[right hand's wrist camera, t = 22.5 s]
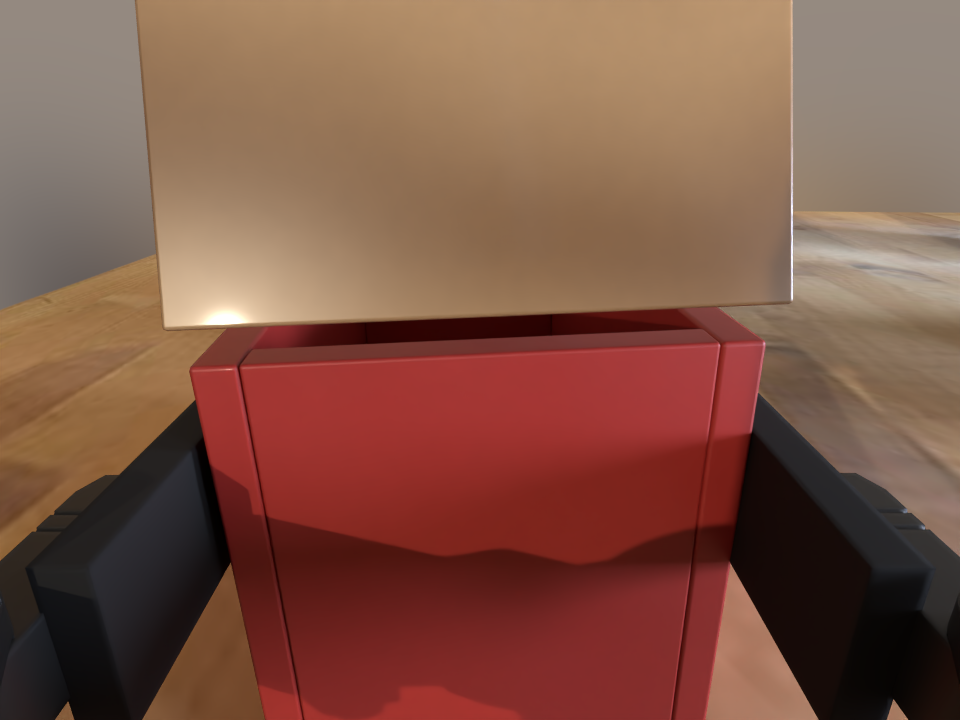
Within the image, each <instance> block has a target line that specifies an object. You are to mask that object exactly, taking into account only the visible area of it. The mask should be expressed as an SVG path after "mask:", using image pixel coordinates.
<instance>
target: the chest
mask: <svg viewBox="0 0 960 720" xmlns="http://www.w3.org/2000/svg"><path fill="white" fill-rule="evenodd" d="M765 346H766V345H765V341H764V340H763V339H761V338H760V337H759V336H757V335H756V334H754V333H753V332H751V331H750V330H749V329H747V328H746V327H744V326H743V325H741V324H740V323H739V322H737V321H736V320H734V319H733V318H731V317H730V316H729V315H727V314H726V313H724V312H723V311H722V310H720V309H719V308H717V307H706V308H683V309H660V310H637V311H614V312H591V313H568V314H545V315H523V316H500V317H477V318H454V319H431V320H408V321H385V322H362V323H339V324H316V325H293V326H270V327H247V328H227V329H226V330H225V331H224V332H223V333H222V334H221V335H220V336H219V337H218V338H217V340H216V341H215V342H214V343H213V344H212V345H211V346H210V347H209V348H208V349H207V350H206V351H205V352H204V353H203V354H202V355H201V357H200V358H199V359H198V360H197V361H196V362H195V363H194V364H193V365H192V366H191V367H190V371H189V372H190V377H191V381H192V386H193V390H194V395H195V400H196V404H197V409H198V413H199V418H200V423H201V427H202V432H203V436H204V441H205V446H206V450H207V455H208V459H209V464H210V468H211V473H212V478H213V482H214V487H215V491H216V496H217V501H218V505H219V510H220V514H221V519H222V524H223V528H224V533H225V537H226V542H227V547H228V551H229V556H230V560H231V565H232V570H233V574H234V579H235V583H236V588H237V593H238V597H239V602H240V606H241V611H242V616H243V620H244V625H245V629H246V634H247V639H248V643H249V648H250V652H251V657H252V661H253V666H254V671H255V675H256V680H257V684H258V689H259V694H260V698H261V703H262V707H263V712H264V717H265V720H705V718H706V712H707V705H708V699H709V693H710V687H711V681H712V674H713V668H714V662H715V656H716V650H717V643H718V637H719V631H720V625H721V619H722V612H723V606H724V600H725V594H726V588H727V581H728V575H729V569H730V557H731V551H732V546H733V541H734V535H735V530H736V524H737V519H738V513H739V507H740V501H741V495H742V488H743V482H744V476H745V470H746V464H747V457H748V451H749V445H750V439H751V433H752V427H753V420H754V414H755V408H756V402H757V396H758V389H759V383H760V377H761V371H762V365H763V358H764V352H765Z"/></svg>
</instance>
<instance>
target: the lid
mask: <svg viewBox="0 0 960 720" xmlns="http://www.w3.org/2000/svg"><path fill="white" fill-rule="evenodd" d="M135 7H136V19H137V31H138V43H139V55H140V67H141V78H142V90H143V102H144V114H145V126H146V138H147V150H148V162H149V173H150V185H151V197H152V209H153V221H154V233H155V245H156V257H157V269H158V280H159V292H160V304H161V316H162V327H163V329H164V330H166V331H178V330H201V329H224V328H247V327H270V326H293V325H316V324H339V323H362V322H385V321H408V320H431V319H454V318H477V317H500V316H523V315H545V314H568V313H591V312H614V311H637V310H660V309H683V308H706V307H729V306H752V305H775V304H789V303H791V302H792V301H793V38H792V37H793V33H792V32H793V30H792V28H793V27H792V26H793V24H792V0H135Z"/></svg>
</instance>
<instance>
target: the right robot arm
mask: <svg viewBox="0 0 960 720" xmlns="http://www.w3.org/2000/svg"><path fill="white" fill-rule="evenodd" d="M54 512H55V513H54V515H50V516H49V517H48V518H47V519H45V520H44V521H43V522H42V523H41V524H40V525H39V526H38V527H37V531H36V532H31V533H30V534H29V535H28V536H27V537H26V538H25V539H24V540H23V541H22V542H21V543H19V544H18V545H17V546H16V547H15V548H14V549H13V550H12V551H11V552H10V553H9V554H7V555H6V556H5V557H4V558H3V559H2V560H1V561H0V720H55V719H56V717H57V716H58V715H59V713H60V712H61V710H62V709H63V708H64V706H65V705H66V703H67V702H68V701H69V705H70V708H71V711H72V714H73V717H74V720H142V719H143V717H144V715H145V714H146V712H147V710H148V708H149V706H150V705H151V703H152V701H153V699H154V698H155V696H156V694H157V692H158V690H159V689H160V687H161V685H162V683H163V682H164V680H165V678H166V676H167V674H168V673H169V671H170V669H171V667H172V666H173V664H174V662H175V660H176V658H177V657H178V655H179V653H180V651H181V650H182V648H183V646H184V644H185V642H186V641H187V639H188V637H189V635H190V634H191V632H192V630H193V628H194V626H195V625H196V623H197V621H198V619H199V618H200V616H201V614H202V612H203V610H204V609H205V607H206V605H207V603H208V602H209V600H210V598H211V596H212V594H213V593H214V591H215V589H216V587H217V586H218V584H219V582H220V580H221V578H222V577H223V575H224V573H225V571H226V570H227V568H228V566H229V564H230V562H231V560H230V556H229V551H228V547H227V542H226V537H225V533H224V528H223V524H222V519H221V514H220V510H219V505H218V501H217V496H216V491H215V487H214V482H213V478H212V473H211V468H210V464H209V459H208V455H207V450H206V446H205V441H204V436H203V432H202V427H201V423H200V418H199V413H198V409H197V404H196V400H195V401H194V402H193V403H192V404H191V405H190V406H189V407H188V408H187V409H186V410H185V411H184V412H183V413H182V414H181V415H180V416H179V417H178V418H177V419H176V420H175V421H173V422H172V423H171V424H170V425H169V426H168V427H167V428H166V429H165V430H164V431H163V432H162V433H161V434H160V435H159V436H158V437H157V438H156V439H155V440H154V441H153V442H152V443H151V444H150V445H149V446H148V447H147V448H146V449H145V450H144V451H143V452H142V453H141V454H140V455H139V456H138V457H137V458H136V459H135V460H134V461H133V462H132V463H131V464H130V465H129V466H128V467H127V468H126V469H125V470H124V471H123V472H122V473H121V474H120V475H105V476H103V477H101V478H100V479H98V480H96V481H94V482H92V483H91V484H89V485H87V486H85V487H83V488H82V489H80V490H78V491H76V492H75V493H74V494H73V495H72V496H70V497H69V498H68V499H67V500H66V501H65V502H64V503H63V504H62V505H61V506H60V507H59V508H57V509H56V510H55V511H54ZM730 563H731V565H732V567H733V568H734V570H735V572H736V574H737V575H738V577H739V579H740V581H741V582H742V584H743V586H744V588H745V590H746V591H747V593H748V595H749V597H750V598H751V600H752V602H753V604H754V606H755V607H756V609H757V611H758V613H759V614H760V616H761V618H762V620H763V622H764V623H765V625H766V627H767V629H768V630H769V632H770V634H771V636H772V638H773V639H774V641H775V643H776V645H777V646H778V648H779V650H780V652H781V654H782V655H783V657H784V659H785V661H786V662H787V664H788V666H789V668H790V670H791V671H792V673H793V675H794V677H795V678H796V680H797V682H798V684H799V685H800V687H801V689H802V691H803V693H804V694H805V696H806V698H807V700H808V701H809V703H810V705H811V707H812V709H813V710H814V712H815V714H816V716H817V717H818V719H819V720H887V717H888V714H889V711H890V708H891V705H892V701H893V699H894V700H895V702H896V703H897V704H898V706H899V707H900V709H901V710H902V711H903V713H904V714H905V716H906V717H907V718H908V720H960V557H959V556H958V555H957V554H956V553H955V552H953V551H952V550H951V549H950V548H949V547H948V546H947V545H946V544H945V543H944V542H943V541H941V540H940V539H939V538H938V537H937V536H936V535H935V534H934V533H933V532H932V531H930V530H926V529H925V525H924V524H923V523H922V522H921V521H920V520H918V519H917V518H916V517H915V516H914V515H913V514H912V513H907V509H906V508H905V507H904V506H903V505H902V504H901V503H900V502H899V501H898V500H897V499H895V498H894V497H893V496H892V495H891V494H890V493H889V492H888V491H887V490H885V489H884V488H882V487H880V486H878V485H876V484H875V483H873V482H871V481H869V480H867V479H865V478H864V477H862V476H860V475H858V474H856V473H839V472H838V471H837V470H836V469H835V468H834V467H833V466H832V465H831V464H830V463H829V462H828V461H827V460H826V459H825V458H824V457H823V456H822V455H821V454H820V453H819V452H818V451H817V450H816V449H815V448H814V447H813V446H812V445H811V444H810V443H809V442H808V441H807V440H806V439H805V438H804V437H803V436H802V435H800V434H799V433H798V432H797V431H796V430H795V429H794V428H793V427H792V426H791V425H790V424H789V423H788V422H787V421H786V420H785V419H784V418H783V417H782V416H781V415H780V414H779V413H778V412H777V411H776V410H775V409H774V408H773V407H772V406H771V405H770V404H769V403H768V402H767V401H766V400H765V399H764V398H763V397H762V396H761V395H760V394H759V393H758V396H757V402H756V408H755V414H754V420H753V427H752V433H751V439H750V445H749V451H748V457H747V464H746V470H745V476H744V482H743V488H742V495H741V501H740V507H739V513H738V519H737V524H736V530H735V535H734V541H733V546H732V551H731V557H730Z"/></svg>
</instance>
